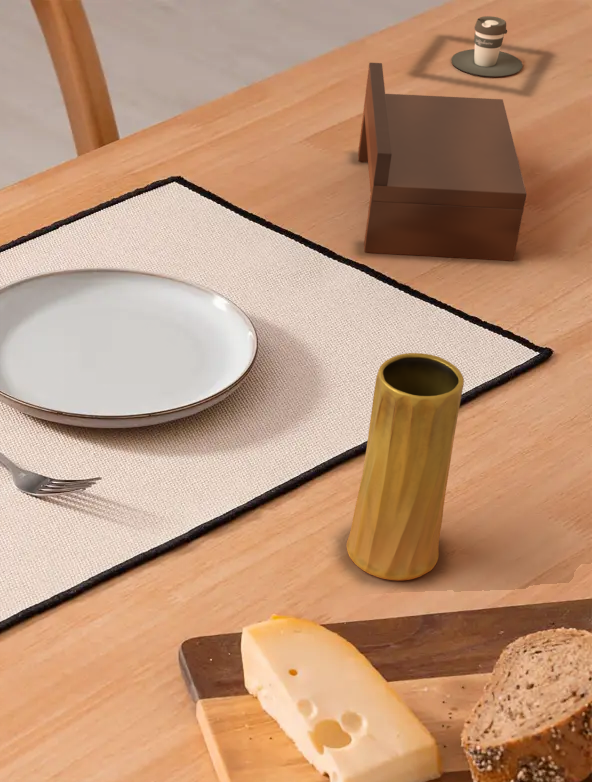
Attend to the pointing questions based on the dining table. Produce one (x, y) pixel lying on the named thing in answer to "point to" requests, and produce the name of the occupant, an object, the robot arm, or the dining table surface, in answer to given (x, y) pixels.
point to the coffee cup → (487, 51)
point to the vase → (406, 467)
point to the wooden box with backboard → (439, 175)
